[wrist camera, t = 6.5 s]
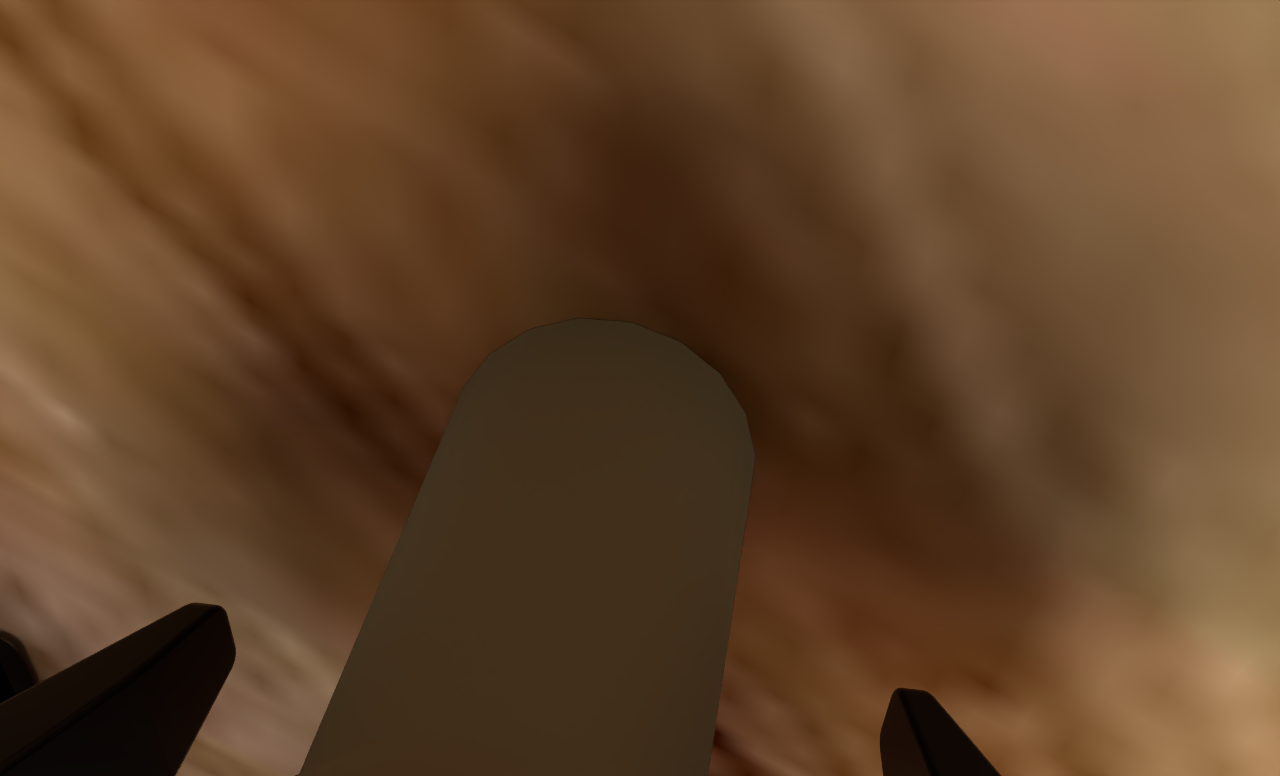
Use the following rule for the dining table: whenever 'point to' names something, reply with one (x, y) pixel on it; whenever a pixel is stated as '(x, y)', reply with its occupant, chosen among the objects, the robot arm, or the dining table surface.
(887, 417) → the dining table surface
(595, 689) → the olive brown bulbous cylinder
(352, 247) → the dining table surface
